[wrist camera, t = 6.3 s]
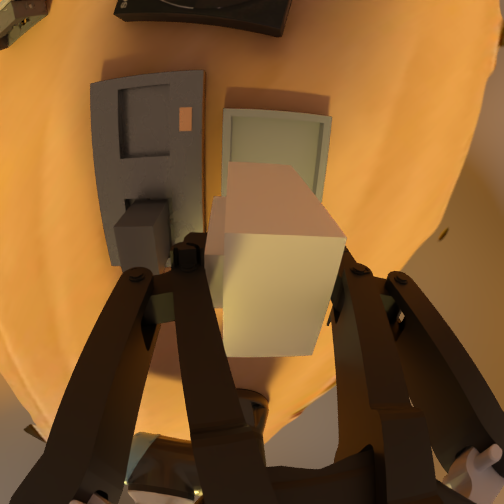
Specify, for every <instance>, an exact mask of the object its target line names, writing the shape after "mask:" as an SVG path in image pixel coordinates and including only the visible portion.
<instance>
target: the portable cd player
mask: <svg viewBox="0 0 504 504" xmlns="http://www.w3.org/2000/svg"><path fill="white" fill-rule="evenodd" d="M291 1H292V0H118V2H117V5H116V8H115V11H114V15H115V16H117V17H119V18H120V19H122V20H123V21H125V22H130V21H166V22H185V23H197V24H206V25H215V26H222V27H229V28H235V29H241V30H246V31H251V32H256V33H261V34H265V35H270V36H274V37H282V34H283V31H284V27H285V23H286V20H287V16H288V12H289V9H290V5H291Z"/></svg>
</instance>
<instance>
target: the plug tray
mask: <svg viewBox="0 0 504 504" xmlns="http://www.w3.org/2000/svg"><path fill="white" fill-rule="evenodd" d="M331 123H332V117H331V116H326V115H318V114H310V113H302V112H292V111H280V110H266V109H245V108H223V134H222V187H221V196H224V197H226V194H227V178H228V162H229V161H231V162H252V163H269V164H282V165H291V166H292V167H293V168H294V170H295V171H296V172H297V173H298V174H299V176H300V177H301V178H302V179H303V181H304V182H305V183H306V184H307V186H308V187H309V188H310V189H311V191H312V192H313V193H314V195H315V196H316V197H317V198H318V200H319V201H320V202H322V196H323V189H324V182H325V174H326V166H327V158H328V150H329V142H330V132H331Z"/></svg>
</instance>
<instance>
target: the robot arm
mask: <svg viewBox="0 0 504 504" xmlns="http://www.w3.org/2000/svg"><path fill="white" fill-rule="evenodd" d="M225 213H226V197H224V196H214V198H213V203H212V209H211V215H210V221H209V227H208V233H203V232H190V233H189V234H187V235H186V236H185V237H184V241H183V242H179V243H177V244H174V245H173V246H172V247H171V249H170V258H171V269H172V270H171V271H169V272H167V273H163V274H159V275H153V273H152V272H151V270H149V269H148V268H145V267H133V268H130V269H128V270H126V271H125V272H124V273H123V274H122V275H121V277H120V278H119V280H118V282H117V284H116V286H115V287H114V289H113V291H112V293H111V295H110V297H109V298H108V300H107V302H106V304H105V306H104V308H103V310H102V312H101V314H100V316H99V318H98V320H97V322H96V324H95V326H94V328H93V330H92V332H91V334H90V336H89V338H88V340H87V342H86V344H85V346H84V348H83V351H82V353H81V355H80V357H79V359H78V362H77V364H76V366H75V369H74V371H73V373H72V376H71V378H70V380H69V383H68V385H67V388H66V390H65V393H64V395H63V398H62V400H61V403H60V406H59V408H58V411H57V414H56V417H55V419H54V422H53V425H52V428H51V431H50V434H49V437H48V440H47V444H46V447H45V450H44V453H43V455H42V456H41V457H40V459H39V460H38V461H37V463H36V464H35V465H34V467H33V468H32V469H31V471H30V472H29V473H28V475H27V476H26V478H25V479H24V480H23V482H22V483H21V484H20V486H19V487H18V489H17V490H16V491H15V493H14V494H13V496H12V497H11V500H10V503H9V504H118V502H119V499H120V496H121V494H122V491H123V487H124V483H125V484H126V485H128V494H129V495H130V496H131V497H132V498H133V499H134V501H135V503H136V504H492V503H493V501H494V500H495V498H496V497H497V495H498V493H499V492H500V490H501V489H502V487H503V485H504V412H503V411H502V409H501V407H500V405H499V403H498V402H497V400H496V398H495V396H494V395H493V393H492V391H491V389H490V388H489V386H488V384H487V383H486V381H485V379H484V378H483V376H482V375H481V373H480V371H479V370H478V368H477V367H476V365H475V364H474V362H473V361H472V359H471V357H470V356H469V354H468V353H467V351H466V350H465V348H464V347H463V345H462V344H461V343H460V341H459V340H458V338H457V337H456V336H455V334H454V333H453V331H452V330H451V328H450V327H449V326H448V325H447V323H446V322H445V320H443V318H442V316H441V315H440V314H439V312H438V311H437V310H436V309H435V307H434V306H433V305H432V303H431V302H430V301H429V299H428V298H427V297H426V296H425V294H424V293H423V292H422V291H421V289H420V288H419V287H418V286H417V284H416V283H415V282H414V281H413V280H412V279H411V278H410V277H409V276H408V275H406V274H405V273H403V272H400V271H392V272H390V273H389V274H388V277H387V279H383V278H378V277H374V276H373V274H372V272H371V270H370V269H369V268H368V267H367V266H365V265H363V264H360V263H356V261H355V260H354V258H353V256H352V255H351V253H350V252H349V250H348V249H347V248H346V246H345V248H344V252H343V255H342V259H341V263H340V267H339V270H338V274H337V277H336V281H335V284H334V288H333V291H332V295H331V298H330V299H331V301H332V304H333V306H332V309H331V312H330V315H329V318H328V321H327V326H329V324H330V322H331V323H332V333H333V344H334V355H335V368H336V383H337V401H338V425H339V426H338V427H339V444H338V448H337V451H336V454H335V458H334V464H331V465H330V466H327V467H325V468H322V469H304V468H294V467H286V466H275V467H266V459H265V450H264V442H263V431H264V428H265V424H266V420H267V416H268V411H269V409H268V402H267V399H266V398H265V397H264V396H262V395H261V394H259V393H256V392H253V391H249V390H243V389H236V388H235V385H234V381H233V378H232V374H231V371H230V367H229V363H228V360H227V356H226V352H225V349H224V345H223V341H222V337H221V334H220V330H219V326H218V322H217V318H216V314H215V310H214V308H223V274H224V233H225ZM401 312H403V314H404V315H405V317H404V319H403V321H402V322H401V320H400V319H399V316H400V314H401ZM170 321H175V324H176V335H177V344H178V353H179V361H180V369H181V377H182V384H183V391H184V398H185V404H186V410H187V416H188V422H189V428H190V437H191V441H189V440H183V439H177V438H172V437H167V436H162V435H160V434H151V433H145V432H139V433H136V434H135V435H134V430H135V425H136V421H137V416H138V412H139V407H140V403H141V399H142V394H143V390H144V386H145V382H146V378H147V374H148V370H149V366H150V363H151V359H152V355H153V351H154V348H155V344H156V340H157V337H158V333H159V330H160V326H161V323H165V322H170ZM409 397H410V399H411V402H412V404H413V406H414V407H412V406H411V403H410V399H409ZM133 435H134V436H133ZM431 447H432V449H433V451H434V453H435V455H436V457H437V459H438V460H439V462H440V463H441V465H442V467H443V468H444V469H445V471H446V472H447V473H448V474H447V475H446V476H445V477H444V478H443V482H442V483H441V482H440V481H438V480H437V479H436V478H435V470H434V463H433V456H432V450H431ZM451 488H452V489H451ZM194 496H201V497H200V498H199V499H198V500H197V501H196V502H195V503H194Z"/></svg>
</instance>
